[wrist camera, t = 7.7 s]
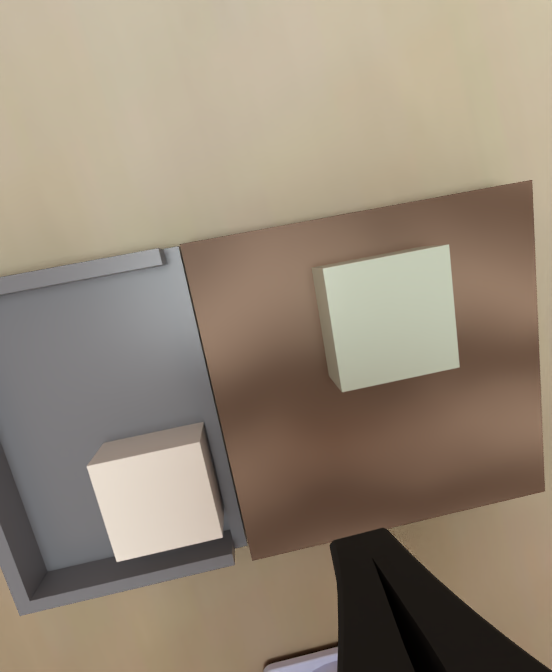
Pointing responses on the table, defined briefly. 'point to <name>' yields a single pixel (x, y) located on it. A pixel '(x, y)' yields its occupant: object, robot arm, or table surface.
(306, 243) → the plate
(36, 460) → the box
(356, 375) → the tile green
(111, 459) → the tile cream
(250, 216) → the table surface
